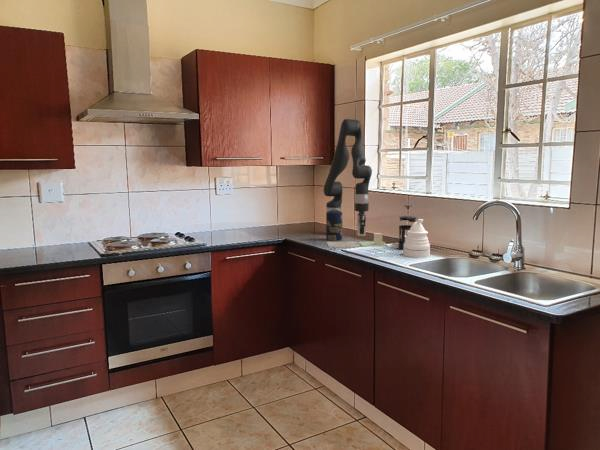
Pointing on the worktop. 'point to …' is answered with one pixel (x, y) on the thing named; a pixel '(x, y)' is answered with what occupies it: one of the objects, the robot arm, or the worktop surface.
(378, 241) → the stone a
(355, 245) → the bin
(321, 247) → the worktop surface
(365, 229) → the beige block
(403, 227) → the french press
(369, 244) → the bin
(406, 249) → the honey pot
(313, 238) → the worktop surface
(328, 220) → the canister
